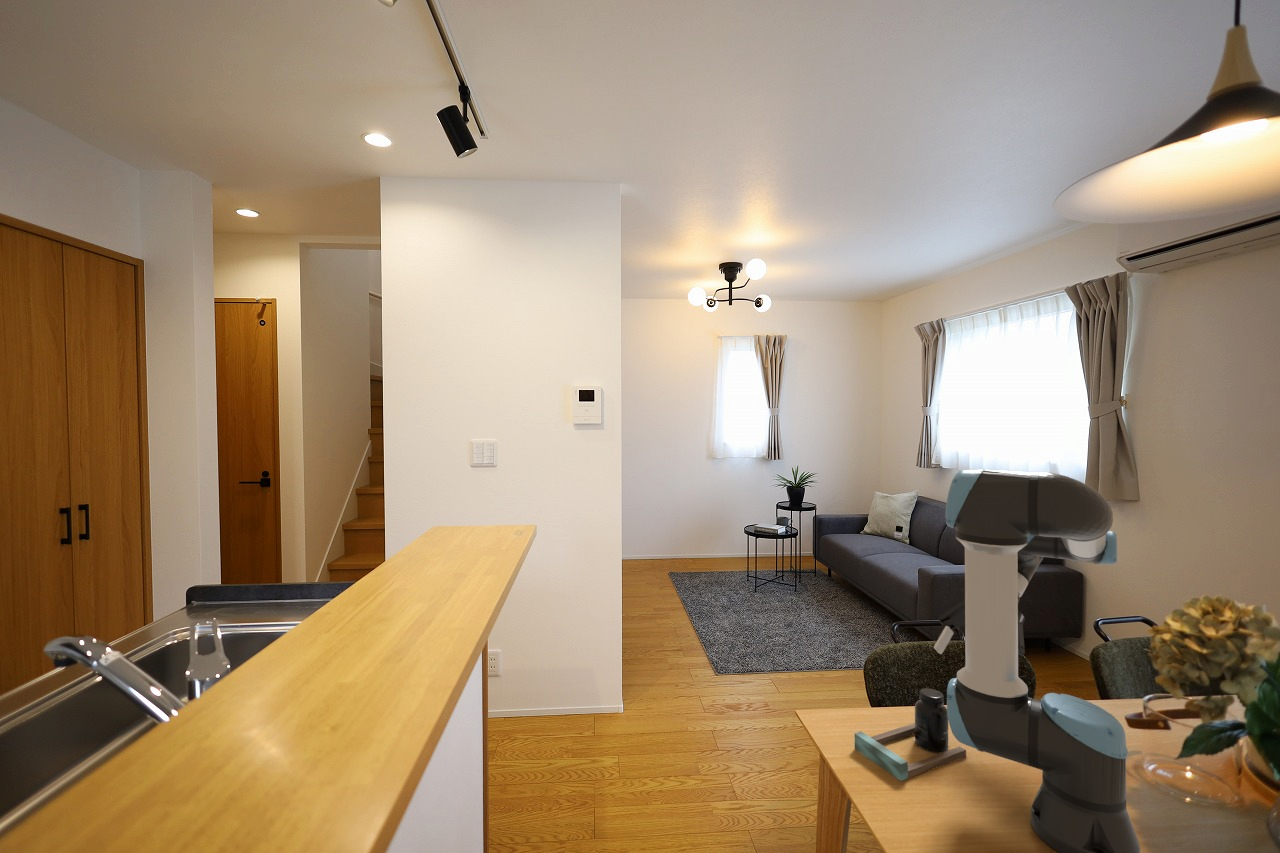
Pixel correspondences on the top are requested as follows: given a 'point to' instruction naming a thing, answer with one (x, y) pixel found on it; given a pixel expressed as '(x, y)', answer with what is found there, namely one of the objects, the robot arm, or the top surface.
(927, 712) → the supplement bottle
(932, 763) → the channel
